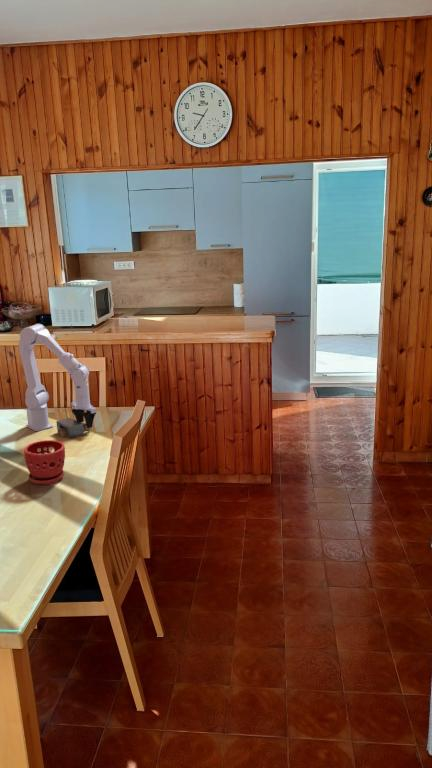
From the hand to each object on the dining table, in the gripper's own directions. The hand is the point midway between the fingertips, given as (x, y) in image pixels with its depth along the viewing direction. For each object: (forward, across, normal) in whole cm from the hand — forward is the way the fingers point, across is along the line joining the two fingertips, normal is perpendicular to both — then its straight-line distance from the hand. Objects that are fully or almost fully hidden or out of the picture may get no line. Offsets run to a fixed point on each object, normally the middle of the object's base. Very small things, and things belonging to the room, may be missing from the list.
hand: (85, 426), depth 248 cm
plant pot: (+2, +32, -38) cm, 50 cm away
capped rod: (+2, -1, -4) cm, 5 cm away
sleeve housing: (+1, -1, -7) cm, 7 cm away
